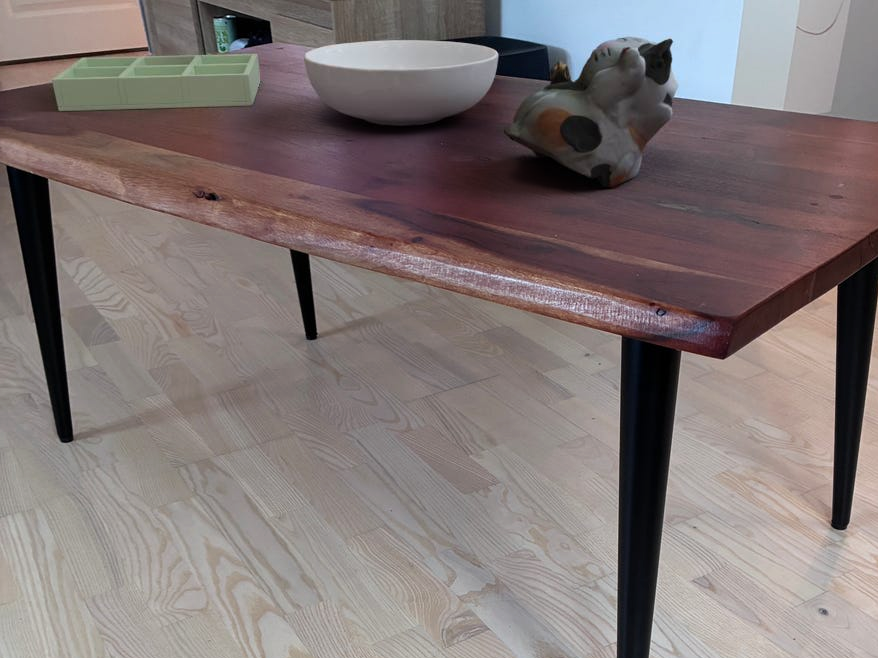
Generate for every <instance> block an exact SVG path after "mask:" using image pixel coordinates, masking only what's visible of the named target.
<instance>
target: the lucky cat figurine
mask: <svg viewBox="0 0 878 658" xmlns="http://www.w3.org/2000/svg"><path fill="white" fill-rule="evenodd" d="M673 43H674V40H673V39H672V38H667V39H664V40H662V41H660V42H658V43H657V42H655V41H652V40H648V39H645V38H642V37H637V36H636V37H635V36H625V37H617V38H616V39H609V40H606V41H604V42H602V43H600V44H599V45H598V46H596V48H594V49H593V50H592V52H591V54H590V56H589V58H587V60H586V62H585V64H584V65H583V67H582V69H581V72H580V74H579V77H577V78H576V79H575V80H574V81H573V80H572V77H571V73H570V69H569V67H568V65H567V64H565V63H563V62H562V61H561V60H558V61H557V62H556V63H555V64H554V65H553V66H552V67H551V68H550V69H549V71H550V72H549V74H550V83H549V84H548V85H546V86H545V87H543V89H539V90H537V91H533V92H532V93H531V94H529V95H528V96H526V97H525V98H524V99H523V100H522V102H521V103H520V104H519V106H518V107H517V110H516V112H515V113H514V117H513V121H512V124H508V125H506V126H504V127H503V133H504V134H505V135H506V136H507V137H508V138H509V139H510V140H511V141H514V142H515V143H517V144H519V145H521V146H523V147H525V148H527V149H529V150H530V151H532V153H533V154H534V155H535V156H536V157H538V158H542V157H545V156H546V157H549V158H551V159H552V160H554V161H556V162H558V163H559V164H560V165H562V166H563V167H566V168H567V169H569V170H571V171H574V172H575V173H577V174H580V175H581V176H585V177H587V178H589V179H591V180H593V179H597V180H598V182H599V183H600V184H601V186H602V187H604V188H615V187H616V186H618V185H620V184H622V183H624V182H626V181H628V180H631V179H633V178H635V177H637V175H638V173H639V171H640V169H641V165H642V162H643V161H642V159H643V151H644V148H645V147H646V146H647V145H648V143H649V142H650V141H651V140H652V139H653V138H654V136H655V135H656V134H657V133H658V132H659V131H660V130H661V128H663V127H665V125H666V124H667V123H668V122H669V121H670V120H671V119H672V116H673V112H674V111H673V108H672V107H673V100H674V98H675V95H676V92H677V90H678V88H679V84H678V81H677V79H676V76H675V73H674V72H673V69H672V63H673V54H672V51H671V49H672V48H671V47H672V45H673Z"/></svg>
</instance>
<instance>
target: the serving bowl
mask: <svg viewBox="0 0 878 658" xmlns="http://www.w3.org/2000/svg"><path fill="white" fill-rule="evenodd" d="M303 61H304V66H305V71H306V74H307V75H306V76H307V77H308V80H309V83H310V85H311V87H312V89H313V91H314V92H315V93H316V95H317V96H318V97H319V98H320V99H321V100H322V101H323V102H324V103H325V104H326V105H327V106H329V107H330V108H331V109H333V110H335V111H337V112H339V113H341V114H344V115H347V116H350V117H353V118H357V119H360V120H361V119H362V120H364V121H366V122H368V123H372V124H376V125H381V126H382V125H383V126H396V127H397V126H398V127H401V126H406V127H407V126H419V125H427V124H432V123H436V122H439V121H441V120H443V119H445V118H448V117H453V116H455V115H458V114H461V113H464V112H465V111H467V110H469V109H471V108H472V107H474V106H476V105H477V104H478V103H479V102H480V101H481V100H482V99H483V98H484V97H485V96H486V95H487V93H488V92H489V90H490V88H491V87H492V85H493V83H494V80H495V77H496V73H497V68H498V62H499V53H498V52H497V50H496V49H494V48H491V47H488V46H485V45H479V44H473V43H466V42H456V41H446V40H445V41H444V40H442V41H441V40H423V39H421V40H419V39H418V40H417V39H414V40H413V39H410V40H408V39H394V40H393V39H391V40H388V39H387V40H369V41H357V42H345V43H336V44H330V45H324V46H320V47H318V48H317V47H316V48H313V49H310V50H309V51H307V52H305V54H304V55H303Z"/></svg>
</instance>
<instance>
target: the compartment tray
mask: <svg viewBox="0 0 878 658" xmlns="http://www.w3.org/2000/svg"><path fill="white" fill-rule="evenodd" d="M260 81H261V74H260V65H259V57H258V53H240V54H239V53H235V54H234V53H232V54H231V53H230V54H229V53H228V54H189V55H186V54H185V55H152V56H151V55H147V56H145V55H143V56H142V55H141V56H101V57H99V56H98V57H81V58H79V59H78V60H77V61H75V62H74V63H73V64H71V65H69V67H67V68H65V69H64V70H62V72H60V73H59V74H57V75H56V76H55V77H53V78H51V82H52V83H51V84H52V87H53V93H54V95H55V100H56V105H57V109H58V112H81V111H82V112H83V111H84V112H86V111H116V110H117V111H118V110H119V111H120V110H149V109H150V110H151V109H152V110H153V109H155V110H156V109H185V108H189V109H190V108H215V107H216V108H218V107H219V108H220V107H251V106H252V107H253V104H254V102H255V99H256V96H257V93H258V90H259V88H260V85H261V82H260ZM259 84H260V85H259ZM258 87H259V88H258Z"/></svg>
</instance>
